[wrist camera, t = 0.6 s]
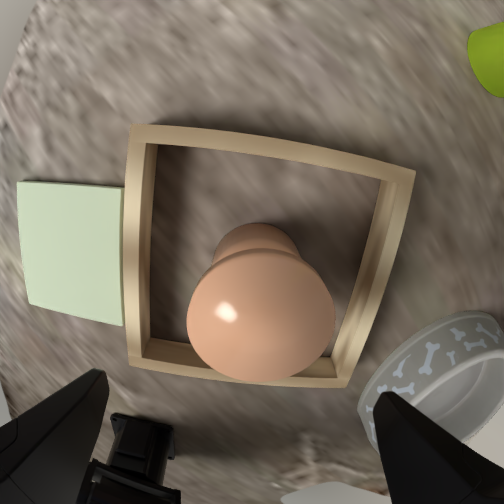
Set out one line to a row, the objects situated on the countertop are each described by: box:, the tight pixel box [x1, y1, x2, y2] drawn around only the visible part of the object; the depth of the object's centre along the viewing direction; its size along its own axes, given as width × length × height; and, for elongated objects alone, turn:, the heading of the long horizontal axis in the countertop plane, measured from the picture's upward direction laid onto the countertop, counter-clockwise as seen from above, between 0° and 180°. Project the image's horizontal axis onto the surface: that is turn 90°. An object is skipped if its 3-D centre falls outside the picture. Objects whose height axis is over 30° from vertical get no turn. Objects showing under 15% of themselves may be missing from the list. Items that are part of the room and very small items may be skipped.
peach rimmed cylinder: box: [187, 223, 336, 382], centre depth 17 cm, size 7×7×7 cm
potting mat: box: [17, 181, 125, 326], centre depth 19 cm, size 10×9×1 cm
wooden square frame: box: [123, 124, 416, 388], centre depth 19 cm, size 16×16×2 cm
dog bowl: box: [357, 311, 504, 456], centre depth 23 cm, size 17×18×5 cm
